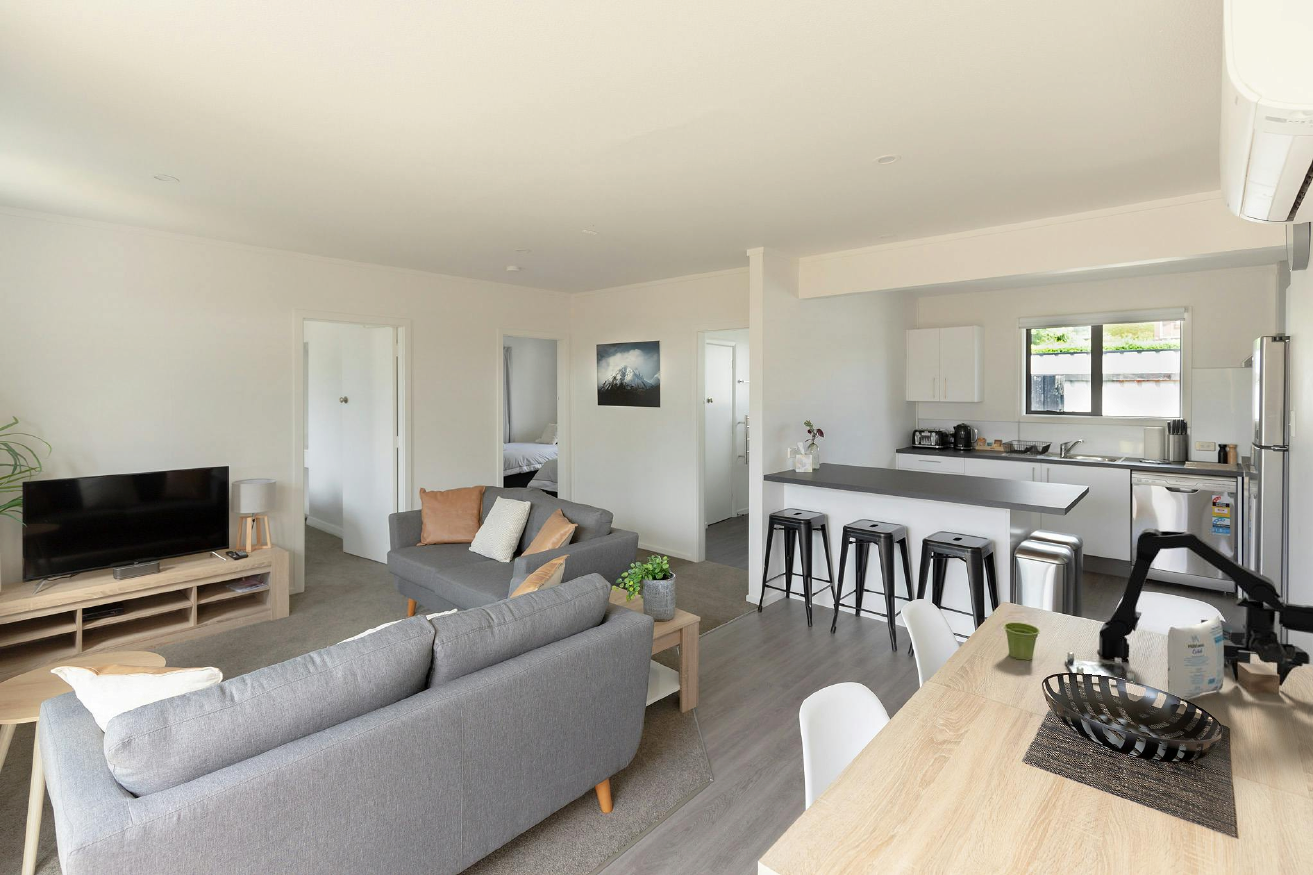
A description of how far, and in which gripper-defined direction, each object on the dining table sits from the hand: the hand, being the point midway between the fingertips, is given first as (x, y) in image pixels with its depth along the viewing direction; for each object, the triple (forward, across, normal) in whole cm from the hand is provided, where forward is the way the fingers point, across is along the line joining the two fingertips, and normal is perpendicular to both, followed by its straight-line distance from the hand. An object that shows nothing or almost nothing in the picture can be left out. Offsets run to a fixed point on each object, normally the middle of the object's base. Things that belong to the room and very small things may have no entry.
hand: (1257, 682), depth 173 cm
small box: (+1, 0, +17) cm, 17 cm away
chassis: (+1, -36, -4) cm, 37 cm away
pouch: (+1, -18, -12) cm, 22 cm away
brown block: (+1, 0, 0) cm, 1 cm away
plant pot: (+1, -54, +4) cm, 55 cm away
